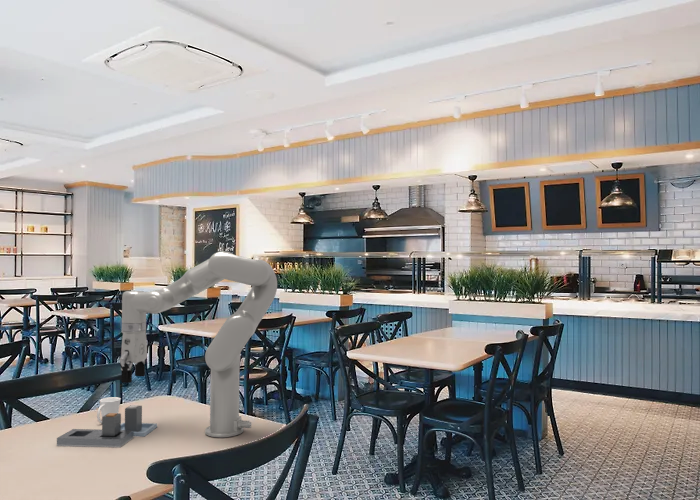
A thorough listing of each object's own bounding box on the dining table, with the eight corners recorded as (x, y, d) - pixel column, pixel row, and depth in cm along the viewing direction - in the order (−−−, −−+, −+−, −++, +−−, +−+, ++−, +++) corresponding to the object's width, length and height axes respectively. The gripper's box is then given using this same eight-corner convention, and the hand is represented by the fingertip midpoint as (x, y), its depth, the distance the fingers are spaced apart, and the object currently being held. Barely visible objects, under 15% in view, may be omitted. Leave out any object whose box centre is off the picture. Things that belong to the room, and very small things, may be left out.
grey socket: (133, 439, 177) (133, 410, 177) (120, 449, 168) (120, 418, 168) (73, 438, 178) (73, 409, 179) (56, 447, 169) (57, 417, 170)
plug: (141, 429, 186) (141, 404, 186) (136, 433, 182) (136, 407, 182) (130, 429, 186) (130, 404, 186) (124, 433, 182) (124, 407, 182)
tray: (156, 428, 189) (157, 423, 189) (144, 438, 179) (144, 432, 179) (122, 428, 189) (122, 422, 189) (108, 437, 179) (108, 431, 179)
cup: (124, 420, 199) (125, 397, 199) (106, 428, 189) (107, 404, 189) (107, 418, 200) (107, 396, 200) (88, 426, 191) (89, 403, 191)
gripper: (133, 331, 176) (132, 385, 175) (155, 324, 193) (154, 373, 193) (110, 331, 176) (109, 384, 176) (134, 324, 193) (133, 373, 193)
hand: (133, 379), depth 184 cm, fingers open, 9 cm apart
